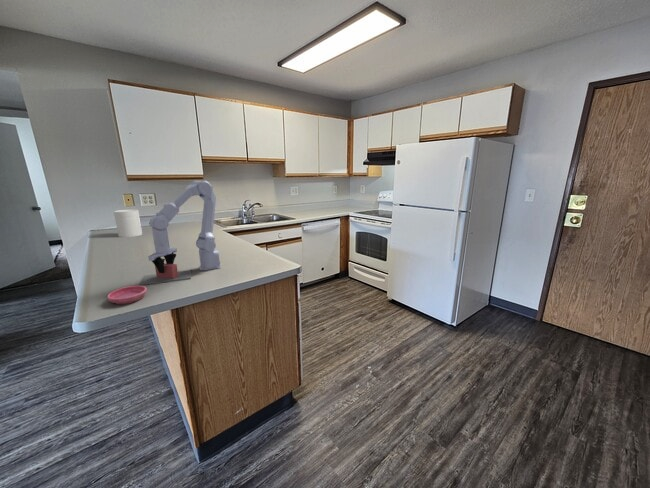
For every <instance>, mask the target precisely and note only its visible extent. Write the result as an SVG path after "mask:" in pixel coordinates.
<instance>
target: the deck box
mask: <svg viewBox="0 0 650 488" xmlns="http://www.w3.org/2000/svg"><path fill="white" fill-rule="evenodd" d="M154 269H155V274H156V276H157V277H158V278H170V279H174V278H176V277H178V271H179V270H178V264H177V263H176V264H175V263H173V264H166V262H164V273H159V271H158V269H157V267H156V266H155V265H154Z"/></svg>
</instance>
